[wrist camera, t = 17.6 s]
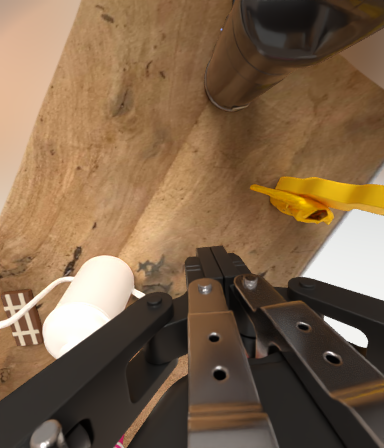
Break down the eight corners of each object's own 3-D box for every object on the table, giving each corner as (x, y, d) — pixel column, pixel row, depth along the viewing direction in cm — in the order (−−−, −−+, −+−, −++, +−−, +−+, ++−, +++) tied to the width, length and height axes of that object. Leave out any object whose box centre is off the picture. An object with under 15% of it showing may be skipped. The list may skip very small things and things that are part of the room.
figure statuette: (239, 194, 44) (304, 225, 23) (257, 156, 42) (347, 150, 21) (313, 227, 47) (429, 281, 26) (333, 193, 46) (474, 220, 24)
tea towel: (4, 291, 44) (-1, 295, 43) (31, 288, 45) (27, 292, 43) (20, 341, 48) (16, 346, 46) (45, 338, 48) (42, 343, 47)
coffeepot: (43, 237, 42) (-51, 294, 24) (172, 268, 46) (174, 335, 28) (35, 288, 45) (-55, 373, 27) (158, 312, 49) (152, 400, 31)
